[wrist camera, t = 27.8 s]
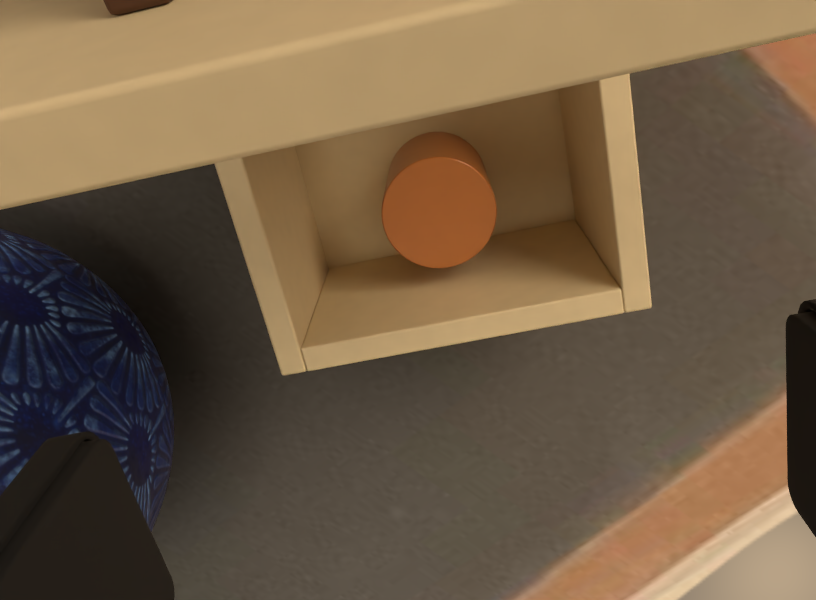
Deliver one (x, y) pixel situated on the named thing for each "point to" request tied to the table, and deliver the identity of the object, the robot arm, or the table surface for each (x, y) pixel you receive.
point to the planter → (78, 369)
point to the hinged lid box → (465, 283)
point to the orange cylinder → (438, 201)
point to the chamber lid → (309, 71)
